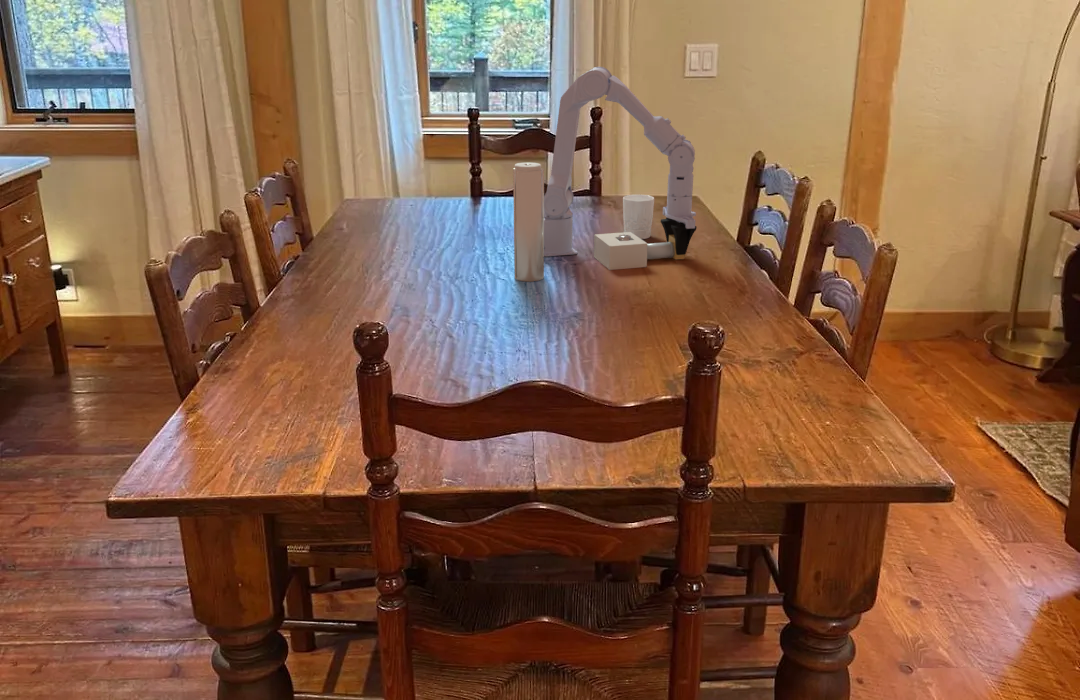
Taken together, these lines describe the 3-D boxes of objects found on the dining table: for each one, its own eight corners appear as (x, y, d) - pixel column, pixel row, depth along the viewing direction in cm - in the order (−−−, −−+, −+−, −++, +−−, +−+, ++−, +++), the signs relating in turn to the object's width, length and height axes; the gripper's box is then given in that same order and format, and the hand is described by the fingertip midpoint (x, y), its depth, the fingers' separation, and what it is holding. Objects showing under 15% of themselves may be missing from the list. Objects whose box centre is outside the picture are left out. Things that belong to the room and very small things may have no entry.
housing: (609, 269, 212) (609, 246, 210) (594, 257, 222) (594, 234, 220) (646, 266, 215) (647, 243, 213) (629, 254, 225) (630, 231, 223)
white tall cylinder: (540, 282, 203) (540, 167, 194) (511, 281, 205) (510, 166, 195) (546, 274, 209) (546, 161, 200) (518, 272, 210) (516, 160, 201)
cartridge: (643, 262, 218) (643, 241, 216) (636, 257, 222) (637, 237, 220) (684, 259, 220) (685, 238, 218) (677, 254, 224) (678, 234, 222)
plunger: (620, 246, 216) (621, 238, 215) (616, 243, 218) (616, 235, 217) (632, 245, 216) (632, 237, 216) (628, 242, 219) (628, 234, 218)
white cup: (652, 232, 244) (654, 194, 241) (652, 240, 237) (654, 201, 233) (622, 232, 245) (623, 194, 241) (621, 239, 238) (622, 200, 234)
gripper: (709, 199, 211) (705, 258, 216) (683, 187, 224) (680, 242, 229) (680, 201, 209) (676, 260, 214) (655, 189, 222) (653, 244, 227)
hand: (676, 251), depth 221 cm, fingers closed on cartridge, 4 cm apart
